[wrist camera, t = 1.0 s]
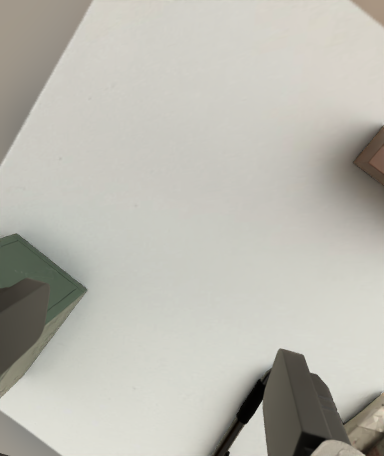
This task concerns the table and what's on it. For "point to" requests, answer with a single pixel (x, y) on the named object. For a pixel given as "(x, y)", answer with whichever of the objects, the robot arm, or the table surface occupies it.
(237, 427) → the pen
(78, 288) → the green storage bin
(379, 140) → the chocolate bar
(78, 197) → the table surface
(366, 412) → the packaged product
